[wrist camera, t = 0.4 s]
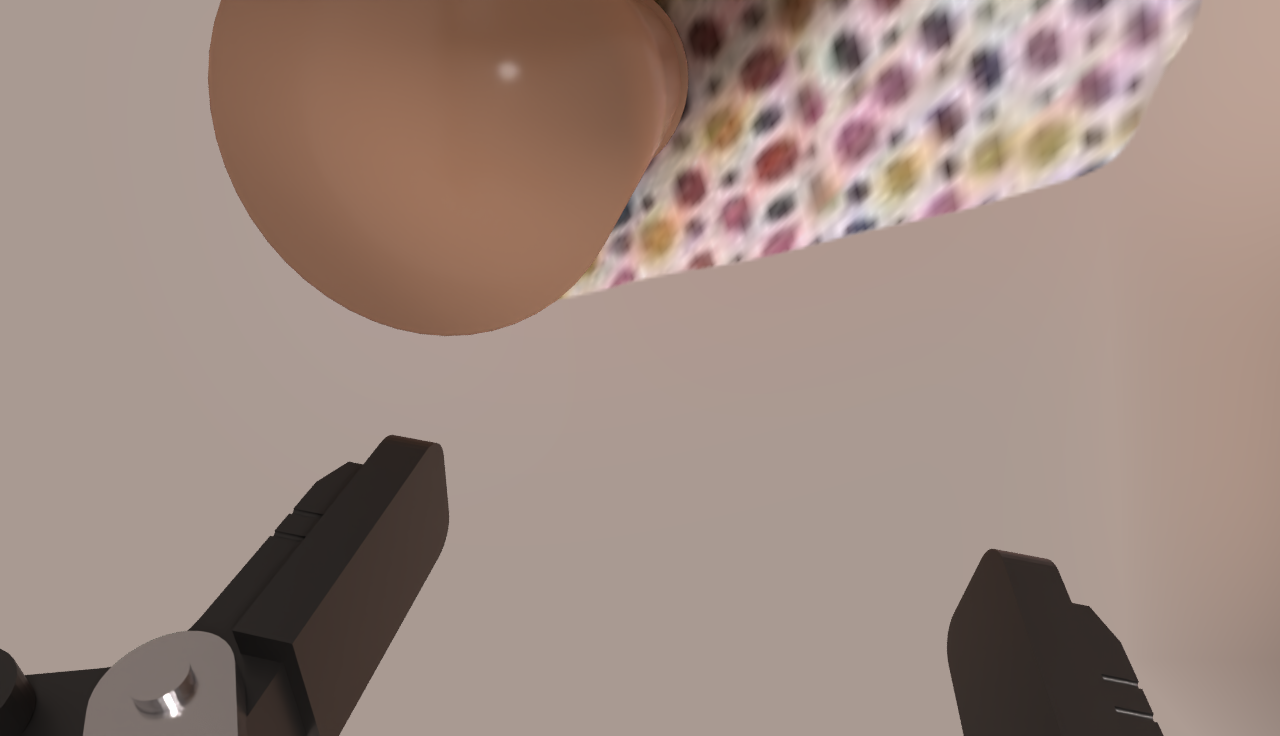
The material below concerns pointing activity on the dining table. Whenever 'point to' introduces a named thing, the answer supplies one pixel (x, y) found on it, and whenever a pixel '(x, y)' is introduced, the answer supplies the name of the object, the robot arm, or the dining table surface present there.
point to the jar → (442, 143)
